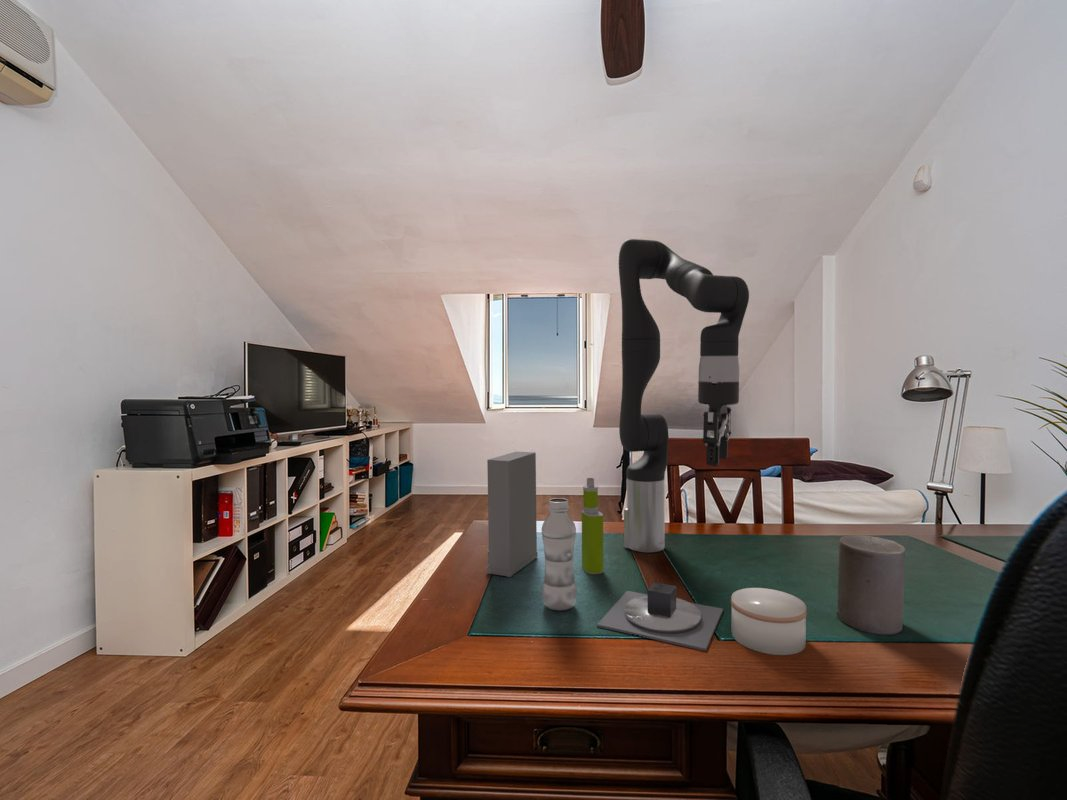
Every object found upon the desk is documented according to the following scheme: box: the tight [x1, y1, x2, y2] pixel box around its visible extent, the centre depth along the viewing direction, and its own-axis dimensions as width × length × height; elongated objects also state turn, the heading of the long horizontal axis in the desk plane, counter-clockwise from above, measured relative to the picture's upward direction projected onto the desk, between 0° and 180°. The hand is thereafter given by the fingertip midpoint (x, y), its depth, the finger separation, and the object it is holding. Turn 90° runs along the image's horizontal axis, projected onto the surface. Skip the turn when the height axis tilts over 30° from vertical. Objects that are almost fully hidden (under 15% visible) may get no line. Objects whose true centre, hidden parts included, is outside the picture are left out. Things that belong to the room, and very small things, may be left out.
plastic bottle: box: [541, 497, 578, 611], centre depth 99 cm, size 6×7×20 cm
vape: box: [581, 477, 604, 575], centre depth 118 cm, size 4×6×20 cm, turn 14°
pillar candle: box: [836, 534, 906, 635], centre depth 92 cm, size 10×10×15 cm
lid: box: [625, 581, 701, 634], centre depth 94 cm, size 13×13×5 cm
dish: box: [730, 587, 808, 656], centre depth 87 cm, size 11×11×6 cm
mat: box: [596, 590, 724, 652], centre depth 94 cm, size 18×16×1 cm
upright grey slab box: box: [485, 450, 539, 578], centre depth 121 cm, size 14×6×25 cm, turn 155°
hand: (717, 461), depth 106 cm, fingers open, 8 cm apart
